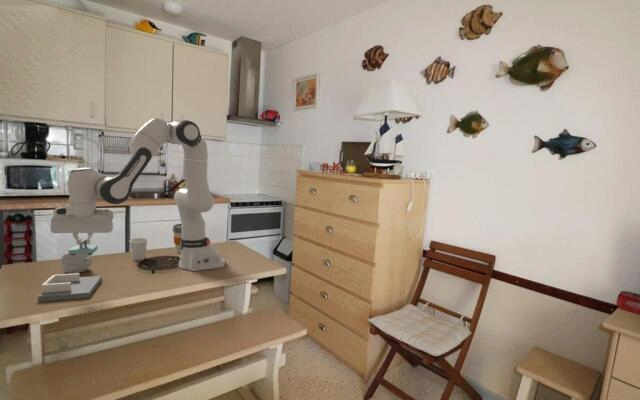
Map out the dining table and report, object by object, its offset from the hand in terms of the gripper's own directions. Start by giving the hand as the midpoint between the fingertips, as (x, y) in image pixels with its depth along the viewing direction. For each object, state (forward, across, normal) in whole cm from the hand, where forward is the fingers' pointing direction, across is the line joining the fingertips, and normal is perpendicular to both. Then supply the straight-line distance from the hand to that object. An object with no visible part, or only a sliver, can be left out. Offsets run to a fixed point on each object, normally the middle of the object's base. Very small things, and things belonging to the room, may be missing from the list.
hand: (83, 243), depth 133 cm
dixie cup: (+19, -14, -38) cm, 45 cm away
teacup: (+19, +8, -23) cm, 31 cm away
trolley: (+4, 0, 0) cm, 4 cm away
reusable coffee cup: (+18, -36, -47) cm, 62 cm away
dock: (+19, +4, -1) cm, 20 cm away
